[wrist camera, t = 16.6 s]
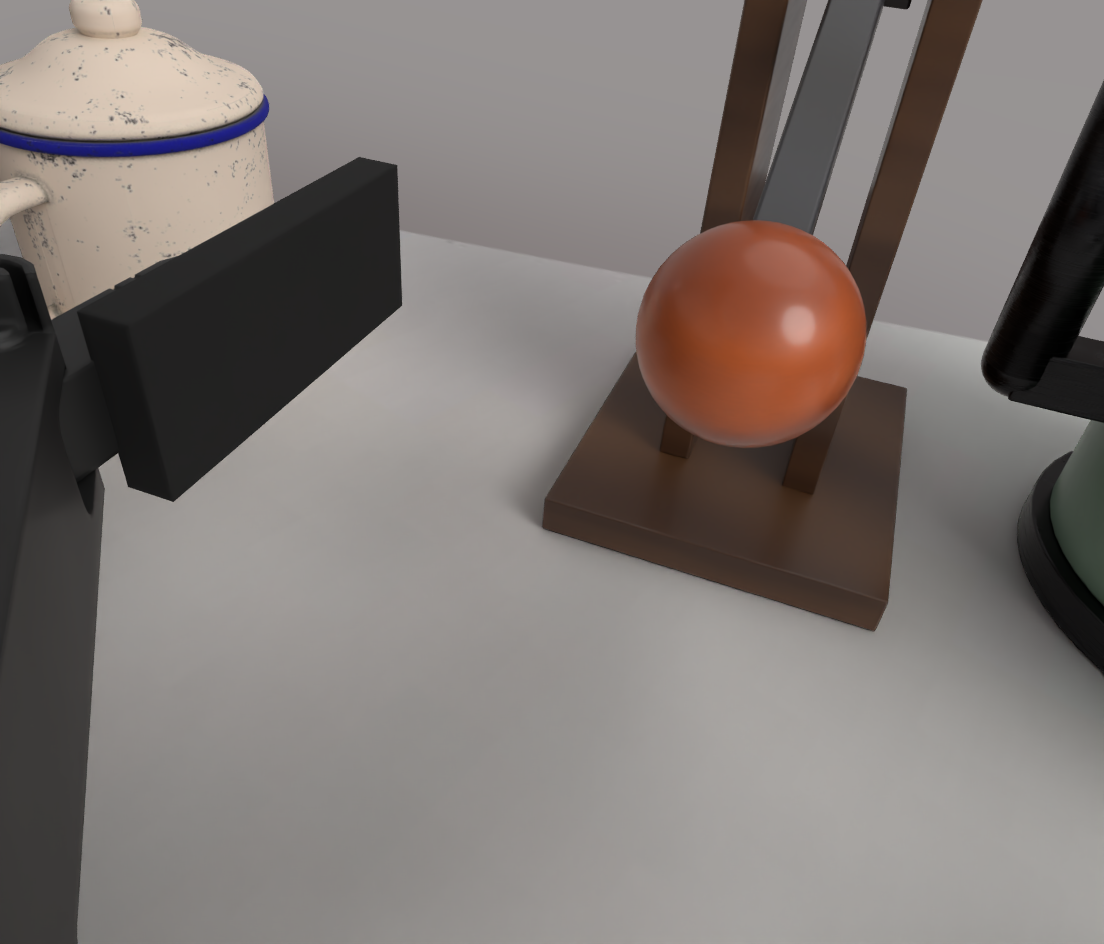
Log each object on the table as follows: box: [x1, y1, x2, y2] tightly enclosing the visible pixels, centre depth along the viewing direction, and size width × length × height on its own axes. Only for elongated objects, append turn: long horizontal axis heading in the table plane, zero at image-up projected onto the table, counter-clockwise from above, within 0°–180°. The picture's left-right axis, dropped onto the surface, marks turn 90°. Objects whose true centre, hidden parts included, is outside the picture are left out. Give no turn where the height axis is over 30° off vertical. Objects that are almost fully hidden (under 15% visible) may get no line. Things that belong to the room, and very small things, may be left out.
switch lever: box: [636, 0, 911, 448], centre depth 18 cm, size 15×4×4 cm, turn 159°
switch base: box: [542, 0, 982, 631], centre depth 24 cm, size 12×10×18 cm
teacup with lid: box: [0, 0, 274, 320], centre depth 29 cm, size 12×9×12 cm
